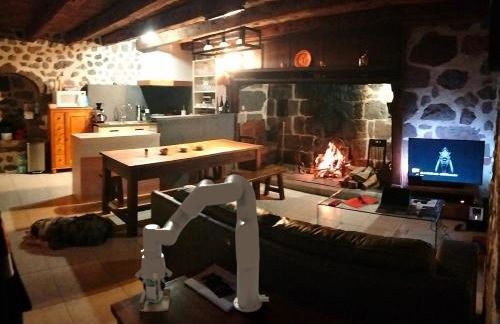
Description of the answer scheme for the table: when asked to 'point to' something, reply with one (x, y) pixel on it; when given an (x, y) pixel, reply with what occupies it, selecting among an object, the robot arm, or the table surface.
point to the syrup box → (154, 289)
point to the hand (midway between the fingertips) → (154, 289)
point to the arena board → (153, 306)
